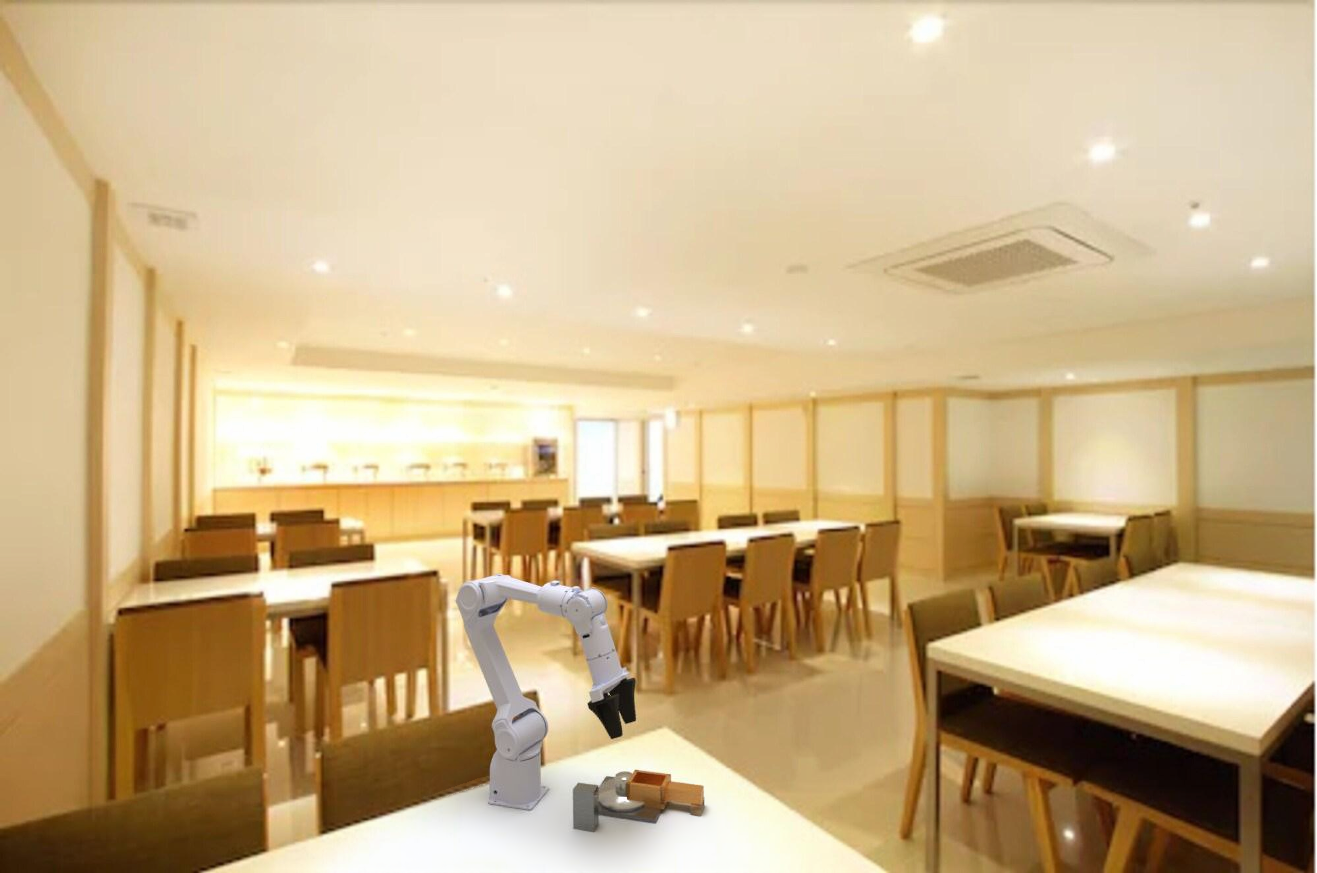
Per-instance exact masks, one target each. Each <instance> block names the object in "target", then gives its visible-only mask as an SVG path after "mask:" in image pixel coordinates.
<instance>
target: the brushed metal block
mask: <svg viewBox="0 0 1317 873" xmlns="http://www.w3.org/2000/svg"><path fill="white" fill-rule="evenodd" d="M598 787H599V784H598V785H597V784H591V783H584V782H577V783H576V785H575V786H574V787H573V789H572V822H573V823H572V825H573V826H572V829H573V830H579V831H585V832H590V833H591V832H592V833H595V831H596V830H597V828H598V827H599V825H600V822H599V821H600V820H599V819H600V818H599V817H600V815H599V796H598Z"/></svg>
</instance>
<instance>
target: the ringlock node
mask: <svg viewBox="0 0 1317 873" xmlns="http://www.w3.org/2000/svg"><path fill="white" fill-rule="evenodd" d="M704 788H705V786H704V785H702V784H694V783H688V782H687V783H686V782H679V781H673V780H672V774H671V773H664V772H655V771H650V770H649V771H648V770H641V769H634V770H633V772H631V771H628V770H627V771H626V770H625V771H619V772H618V773H616V774H615V776H609V775H606V776H605V777H604V778H603V781H602V782H601V783H600V785H598V796H599V816H605V817H606V816H607V817H612V818H619V819H627V820H630V821H631V820H632V821H638V822H644V823H645V822H646V823H652V824H656V823H657V821H658V820H659V817H660V815H661V813H662V811H663V810H665V808H666V805H667V804H668V802H670V803H677V804H686V805H690V806H689V815H691V816H696V817H697V816H698V817H701V816H702V814H703V810H704V808H705V796H704V794H705V789H704Z"/></svg>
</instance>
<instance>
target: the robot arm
mask: <svg viewBox="0 0 1317 873" xmlns="http://www.w3.org/2000/svg"><path fill="white" fill-rule="evenodd" d="M509 600H513V601H518V602H525V603H530V604H535V605H537V608H538V610H539V611H540V612H542V613H545V614H549V615H554V616H557V617H559V618H564V619H565V618H566V620H567V621H568V623H569V624H571V626H573V627H574V630H575V633H576V634H577V635H578V637H579V640H580V644H581V647H582V650H583V654H584V657H585V660H586V664H587V667H588V670H589V673H590V676H591V681H592V683H593V684H592V686H591V689H590V690H589V691H588V694H589V697H590V700H589V701H588V702H587V706H588V709H589V710H590V711H591V712H592V713H593V714H594V715H595V716H596V717H597V718H598V720H599V721H600V723H601V724H602V726H603V727H604V729H605V732H606V733H607V735H608V736H609V738H610V740H614V739H617V738H621V737H623V734H624V733H623V731H624V730H623V726H622V721H621V719H622V720H623V723H624V724H625V725H627V724H632V723H634V722H636V721H637V712H636V703H635V692H636V691H635V690H636V682H637V681H636V678H635V677H631V678H630V675H631V673H630V671H628V669H627V667H626V666H625V667H622V665H621V663H620V659H619V655H618V653H617V650H616V645H615V643H614V640H613V636H612V633H611V630H610V627H609V624H608V620H607V618H606V617H607V616H606V612H607V610H608V599H607V597H606V595H605V593H603V592H602V591H601V590H600V589H597V588H596V587H589V588H587V589H585V590H582V589H581V587H580V586H577V585H576V586H566V585H561V581H559V580H552V581H550V582H547V583H545V584H544V585H543V586H540V585H537V584H534V583H530V582H527V581H523V580H522V579H521V580H520V579H517V578H514V577H512V576H510V575H509V574H507V575H506V574H500V573H496V574H493V575H491V576H490V575H489V576H487V577H482V578H479V579H475V580H469V581H468V580H467V581H465V582H463V583H462V584H461V585H460V587H459V589H458V591H457V596H456V599H455V603H456V606H457V609H458V611H459V612H460V615H461V618H462V620H463V621H462V622H463V627H464V631H465V634H466V636H467V639H468V641H469V643H470V646H471V648H472V651H473V653H474V656H475V658H476V661H477V663H478V665H479V668H480V670H481V672H482V675H483V679H484V680H485V683H486V685H487V688H488V690H489V692H490V694H491V697H492V700H493V703H494V706H495V707H496V709H497V710H496V713H495V717H494V718H493V720H492V723H491V728H492V730H493V735H494V744H495V748H496V750H495V752H494V753H493V755H492V759H491V760H490V761H491V762H490V765H489V799H488V801H487V805H488V804H489V805H494V806H499V807H507V808H513V809H519V810H525V811H526V810H527V811H532V810H533V809H534V808H535V807H536V805H537V804H538V803H539V802H540V801H541V800H542V798H543V797H544V796H545V795H546V793H547V792H548V791H550V790H549V789H550V787H549V786H547V785H542V783H541V781H542V778H541V777H542V776H541V775H542V769H541V768H542V764H541V750H542V749H541V748H542V747H543V740H544V739H546V737H547V735H548V732H549V723H548V720H547V718H546V716H545V715H544V713H543V712H542V711H541V710H540V709H539V707H538V705H537V703H536V701H535V700H533V699H531V698H528V697H525V696H524V694H523V693H522V689H521V688H520V685H519V683H518V680H517V678H516V675H515V673H514V670H513V669H512V667H511V664H510V661H509V659H508V656H507V655H506V651H505V649H504V647H503V645H502V643H501V639H500V638H499V635H498V633H497V630H496V628H495V625H494V624H495V622H496V619H497V617H498V615H499V614H500V612H501V611H502V610H503V608H504V607H505V606H506V603H507V602H508V601H509ZM516 717H517V718H516ZM514 718H515V719H514Z"/></svg>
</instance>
